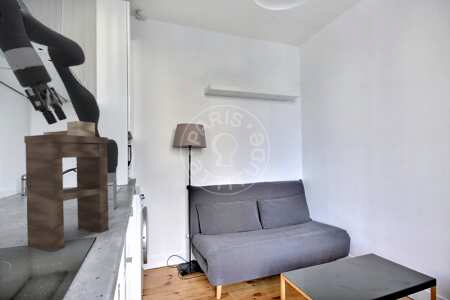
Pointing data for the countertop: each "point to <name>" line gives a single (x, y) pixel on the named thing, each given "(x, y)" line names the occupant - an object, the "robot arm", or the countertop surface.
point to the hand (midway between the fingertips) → (58, 121)
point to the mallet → (77, 129)
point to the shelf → (53, 187)
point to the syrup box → (110, 201)
